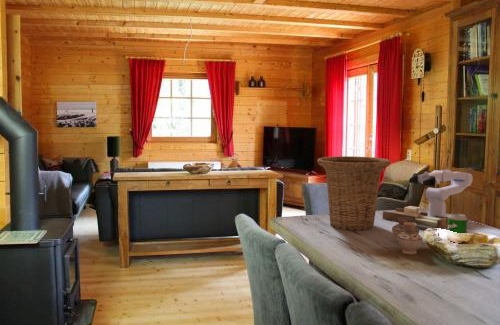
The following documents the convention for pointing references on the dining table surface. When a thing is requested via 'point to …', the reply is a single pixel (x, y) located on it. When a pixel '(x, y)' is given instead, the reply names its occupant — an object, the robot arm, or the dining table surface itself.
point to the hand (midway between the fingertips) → (416, 181)
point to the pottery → (407, 235)
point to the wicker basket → (352, 189)
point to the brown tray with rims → (417, 218)
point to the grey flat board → (425, 225)
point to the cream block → (412, 211)
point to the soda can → (457, 223)
